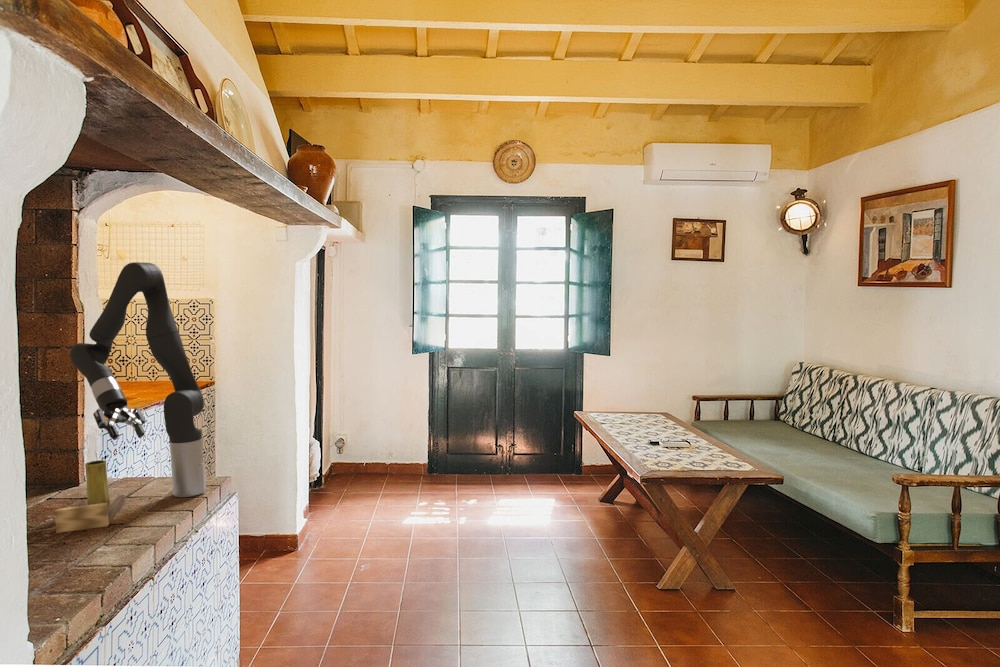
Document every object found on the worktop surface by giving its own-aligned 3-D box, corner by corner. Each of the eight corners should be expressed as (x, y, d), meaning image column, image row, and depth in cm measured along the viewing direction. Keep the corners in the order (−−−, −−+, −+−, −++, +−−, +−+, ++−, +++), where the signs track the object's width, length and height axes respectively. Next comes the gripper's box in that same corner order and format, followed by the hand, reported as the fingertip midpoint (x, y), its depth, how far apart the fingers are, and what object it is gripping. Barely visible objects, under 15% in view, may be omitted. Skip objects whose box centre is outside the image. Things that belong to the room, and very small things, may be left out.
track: (124, 502, 199) (123, 483, 199) (107, 526, 178) (105, 504, 178) (79, 508, 195) (78, 488, 195) (56, 532, 174) (54, 511, 174)
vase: (99, 513, 190) (95, 465, 189) (81, 512, 191) (78, 465, 190) (115, 506, 196) (112, 459, 195) (98, 505, 197) (95, 459, 196)
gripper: (93, 387, 195) (114, 431, 190) (136, 387, 208) (157, 428, 203) (79, 403, 197) (100, 446, 192) (123, 402, 210) (143, 442, 205)
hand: (129, 437), depth 197 cm, fingers open, 8 cm apart
